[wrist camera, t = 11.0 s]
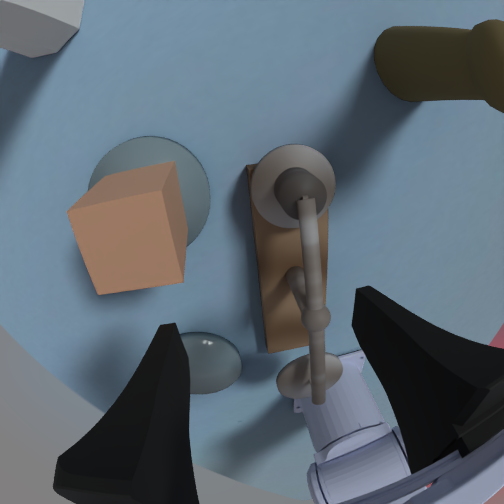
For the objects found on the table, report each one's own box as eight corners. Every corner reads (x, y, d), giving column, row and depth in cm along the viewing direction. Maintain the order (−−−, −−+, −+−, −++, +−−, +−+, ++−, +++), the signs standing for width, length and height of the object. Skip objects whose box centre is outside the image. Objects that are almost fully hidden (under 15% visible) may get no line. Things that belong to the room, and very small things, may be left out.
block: (188, 229, 19) (183, 282, 14) (122, 240, 19) (98, 295, 13) (174, 160, 17) (161, 190, 12) (105, 175, 16) (66, 211, 11)
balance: (319, 342, 28) (349, 412, 20) (266, 353, 27) (285, 429, 20) (321, 137, 18) (391, 167, 11) (242, 144, 18) (269, 178, 11)
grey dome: (218, 241, 21) (219, 247, 20) (111, 259, 20) (107, 266, 19) (200, 124, 17) (199, 126, 16) (80, 152, 16) (74, 156, 15)
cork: (391, 111, 18) (516, 145, 8) (360, 33, 15) (485, 10, 5) (445, 91, 17) (559, 117, 8) (420, 21, 14) (537, 13, 5)
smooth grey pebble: (245, 380, 29) (246, 388, 28) (169, 390, 28) (169, 397, 27) (234, 325, 25) (235, 333, 24) (143, 338, 24) (142, 346, 23)
